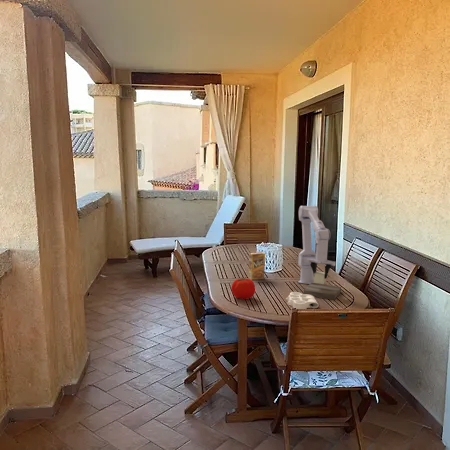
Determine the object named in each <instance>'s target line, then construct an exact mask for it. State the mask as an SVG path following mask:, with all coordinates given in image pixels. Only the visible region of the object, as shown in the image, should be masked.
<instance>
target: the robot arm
mask: <svg viewBox="0 0 450 450" xmlns="http://www.w3.org/2000/svg"><path fill="white" fill-rule="evenodd" d="M318 208H319V207H318V206H317V205H300V206H299V208H298V221H300V222H301V229H302V230H301V231H302V250H301V251H300V252H298V258H297V263H298V266H299V267H300V278H299V279H300V280H298V281H297V283H299V284H304V285H310V284H311V283H314V273H316V272H317V270H318V269H317V267H318V264H319V265H324V272H325V279H326V280H327V278H328V276H329V275H328V274H329V272H330V270H331V268H332V266H333V267H335V266H336V261H333V260H328V248H329V247H328V246H329V241H330V239H331V231H330V229H329V228H326V226H325V225H324V222H323V221H322V220H321V219H320V218H319V216H318V214H319V209H318ZM311 222H312V224H311ZM311 225H312V228H313V231H314V235H315V243H316V248H315V251H314V250H313V248H312V247H313V246H312V229H311Z"/></svg>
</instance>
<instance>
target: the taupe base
mask: <svg viewBox="0 0 450 450" xmlns="http://www.w3.org/2000/svg"><path fill="white" fill-rule="evenodd" d="M341 292H342V287H341V286H338V285H337V286H336V285H330V284H325V283H324V284H319V283H311V284H308V285H307V286H306V287H305V288H304V289H303V291H302V294H308V295H312V296H314V298H321V299H327V300H333V301H334V300H336V299H337V297H338V296H339V294H341Z"/></svg>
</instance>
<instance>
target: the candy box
mask: <svg viewBox="0 0 450 450" xmlns="http://www.w3.org/2000/svg"><path fill="white" fill-rule="evenodd" d="M265 263H266V252H262V251H259V252H249V253H248V276H247V277H248V278H247V279H251V280H252V281H253V280H262V279H263V280H264V279H265V273H266V271H265V270H266V269H265V267H266V266H265V265H266V264H265Z"/></svg>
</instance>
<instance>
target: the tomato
mask: <svg viewBox="0 0 450 450" xmlns="http://www.w3.org/2000/svg"><path fill="white" fill-rule="evenodd" d="M231 292H232V295H233V296H234V297H235V298H237V299H240V300H246V299H251V298H252V297H254V295H255V293H256V285H255V282H254V281H253V280H251V279H249V278H247V277H246V276H245V277H242V278H237V279H234V281H233V282H232V284H231Z"/></svg>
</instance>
